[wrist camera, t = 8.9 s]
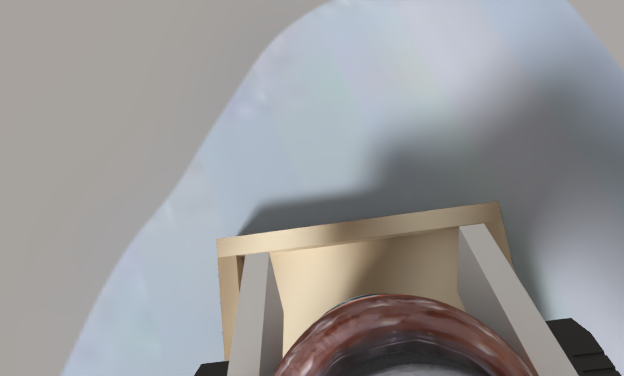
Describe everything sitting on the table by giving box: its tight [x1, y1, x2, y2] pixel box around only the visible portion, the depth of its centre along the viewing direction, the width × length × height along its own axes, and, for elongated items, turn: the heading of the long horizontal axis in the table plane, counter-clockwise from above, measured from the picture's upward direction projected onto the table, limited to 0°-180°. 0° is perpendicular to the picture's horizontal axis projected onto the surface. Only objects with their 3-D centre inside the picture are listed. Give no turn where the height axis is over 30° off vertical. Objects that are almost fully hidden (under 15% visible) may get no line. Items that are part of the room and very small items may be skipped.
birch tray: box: [216, 201, 515, 361], centre depth 19 cm, size 12×12×2 cm
